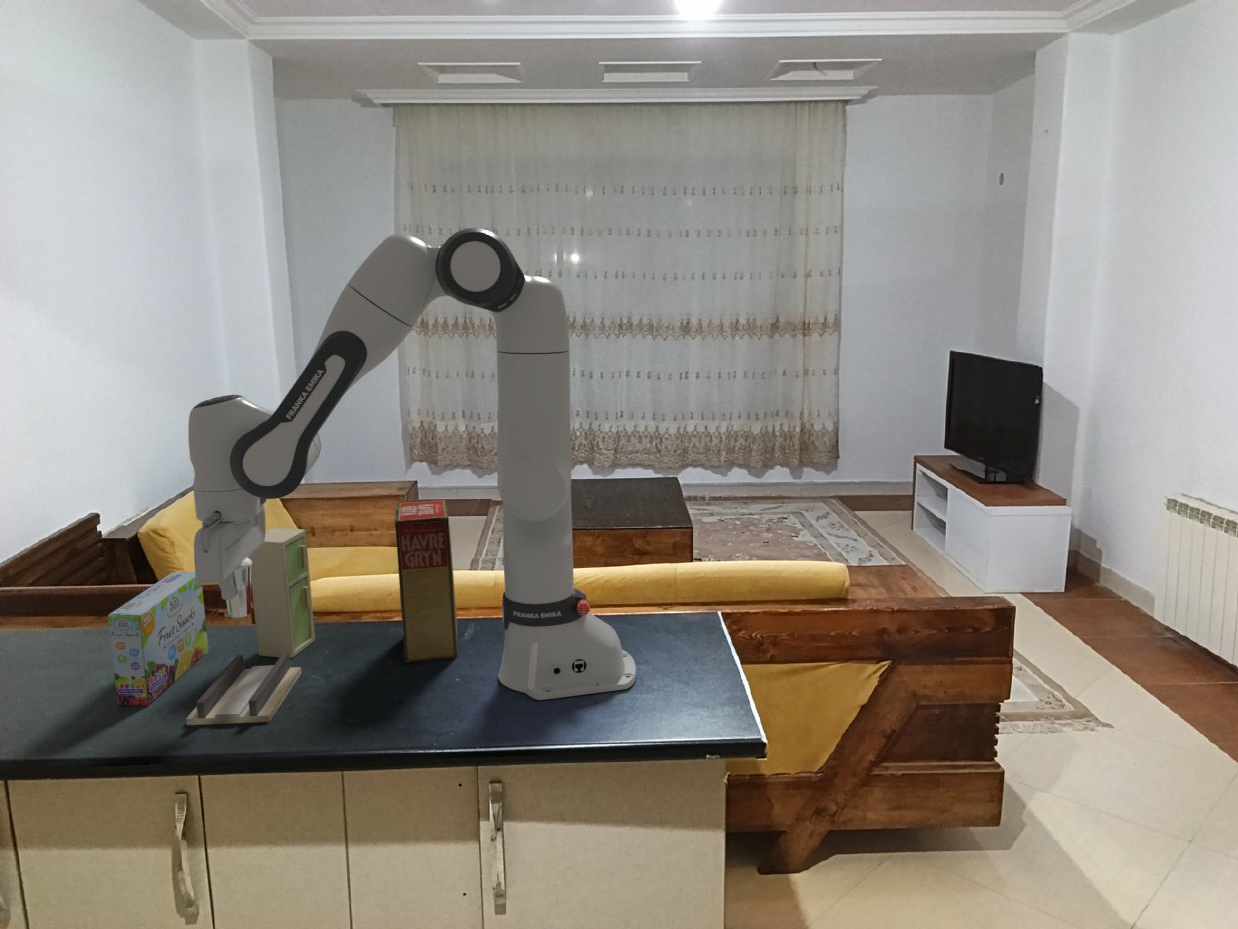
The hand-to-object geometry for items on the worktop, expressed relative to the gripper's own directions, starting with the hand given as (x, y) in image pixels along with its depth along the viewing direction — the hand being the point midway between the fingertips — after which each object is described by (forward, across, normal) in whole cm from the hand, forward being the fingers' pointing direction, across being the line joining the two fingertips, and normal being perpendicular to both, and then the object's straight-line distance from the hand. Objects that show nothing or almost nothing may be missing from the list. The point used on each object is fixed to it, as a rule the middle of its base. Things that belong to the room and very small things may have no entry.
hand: (236, 591), depth 140 cm
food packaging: (+18, +18, -26) cm, 36 cm away
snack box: (+18, +9, +16) cm, 26 cm away
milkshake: (+4, 0, 0) cm, 4 cm away
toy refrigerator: (+18, +19, -1) cm, 26 cm away
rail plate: (+17, 0, 0) cm, 17 cm away
